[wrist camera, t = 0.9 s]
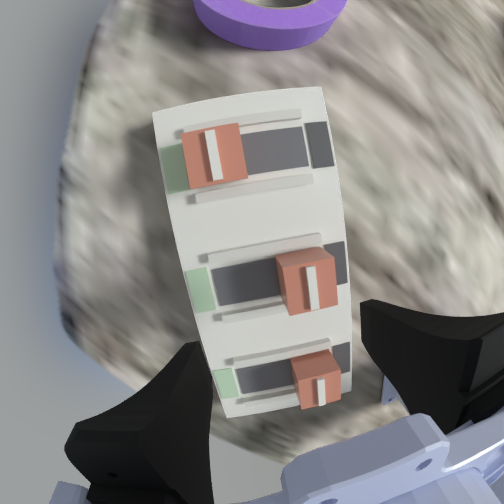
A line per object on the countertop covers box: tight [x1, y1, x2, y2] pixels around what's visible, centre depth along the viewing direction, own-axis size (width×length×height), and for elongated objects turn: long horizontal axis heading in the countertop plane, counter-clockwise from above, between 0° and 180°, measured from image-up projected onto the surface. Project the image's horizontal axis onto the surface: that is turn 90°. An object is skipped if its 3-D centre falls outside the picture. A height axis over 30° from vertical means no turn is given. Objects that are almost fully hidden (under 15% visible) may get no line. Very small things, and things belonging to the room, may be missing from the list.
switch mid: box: [275, 246, 338, 316], centre depth 17 cm, size 3×3×3 cm
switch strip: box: [152, 87, 352, 418], centre depth 20 cm, size 11×24×3 cm, turn 10°
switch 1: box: [181, 123, 248, 189], centre depth 15 cm, size 3×3×3 cm
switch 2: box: [290, 349, 341, 410], centre depth 19 cm, size 3×3×3 cm
